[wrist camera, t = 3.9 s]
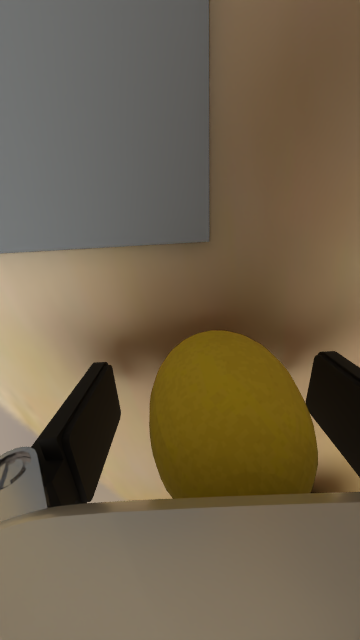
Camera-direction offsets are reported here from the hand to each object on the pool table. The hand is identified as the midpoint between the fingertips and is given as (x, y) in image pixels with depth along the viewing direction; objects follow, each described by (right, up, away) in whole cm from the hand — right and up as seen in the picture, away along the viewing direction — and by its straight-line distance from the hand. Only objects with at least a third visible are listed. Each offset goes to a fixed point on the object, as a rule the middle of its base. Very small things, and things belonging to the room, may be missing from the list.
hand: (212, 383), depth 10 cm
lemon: (0, +1, +2) cm, 3 cm away
